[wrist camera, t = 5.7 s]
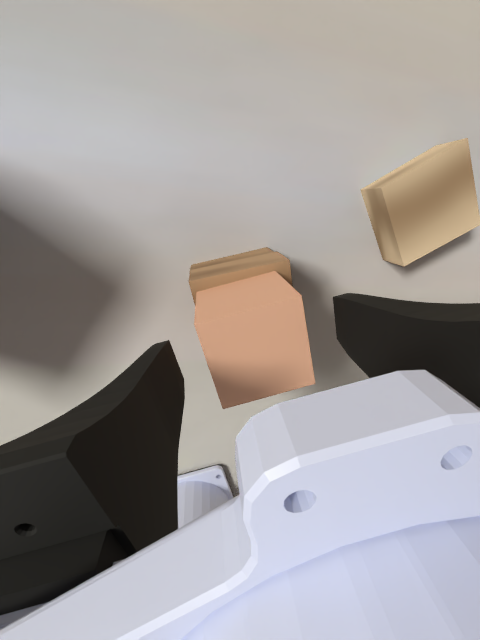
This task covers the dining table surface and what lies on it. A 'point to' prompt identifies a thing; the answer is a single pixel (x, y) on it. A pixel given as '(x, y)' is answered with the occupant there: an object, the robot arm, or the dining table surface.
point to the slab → (423, 203)
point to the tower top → (238, 271)
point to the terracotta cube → (254, 338)
